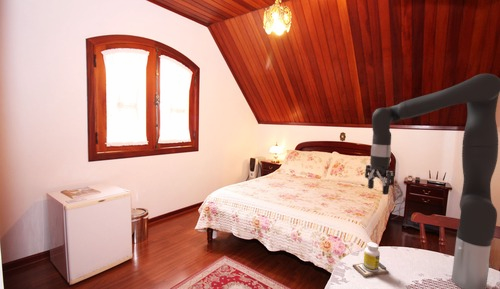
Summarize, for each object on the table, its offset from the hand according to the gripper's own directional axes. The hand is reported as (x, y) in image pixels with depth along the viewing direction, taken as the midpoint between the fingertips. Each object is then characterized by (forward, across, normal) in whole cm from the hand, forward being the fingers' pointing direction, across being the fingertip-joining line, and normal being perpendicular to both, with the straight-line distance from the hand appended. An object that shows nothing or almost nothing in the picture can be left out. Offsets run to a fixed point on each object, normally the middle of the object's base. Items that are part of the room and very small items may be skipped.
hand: (377, 191), depth 110 cm
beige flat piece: (+28, -11, +11) cm, 32 cm away
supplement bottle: (+27, -12, +11) cm, 32 cm away
